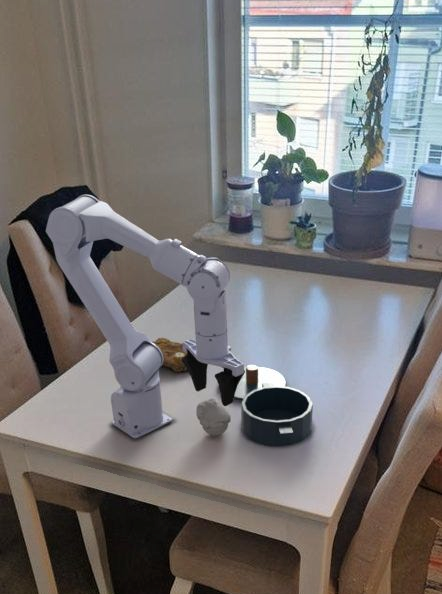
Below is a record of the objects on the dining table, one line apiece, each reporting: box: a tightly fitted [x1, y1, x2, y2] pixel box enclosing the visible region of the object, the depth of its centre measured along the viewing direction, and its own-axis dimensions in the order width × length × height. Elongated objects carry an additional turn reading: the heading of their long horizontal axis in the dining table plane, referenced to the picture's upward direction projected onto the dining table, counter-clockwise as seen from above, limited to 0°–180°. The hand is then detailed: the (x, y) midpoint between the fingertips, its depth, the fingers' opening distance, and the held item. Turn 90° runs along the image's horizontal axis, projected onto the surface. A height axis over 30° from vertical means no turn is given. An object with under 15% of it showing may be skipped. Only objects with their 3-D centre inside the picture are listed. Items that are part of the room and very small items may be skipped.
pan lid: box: [218, 364, 287, 401], centre depth 144 cm, size 14×14×5 cm
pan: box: [240, 383, 314, 448], centre depth 130 cm, size 13×19×6 cm
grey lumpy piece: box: [195, 397, 232, 437], centre depth 129 cm, size 6×7×7 cm
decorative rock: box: [151, 337, 188, 373], centre depth 156 cm, size 11×4×15 cm
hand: (214, 396), depth 127 cm, fingers open, 7 cm apart
